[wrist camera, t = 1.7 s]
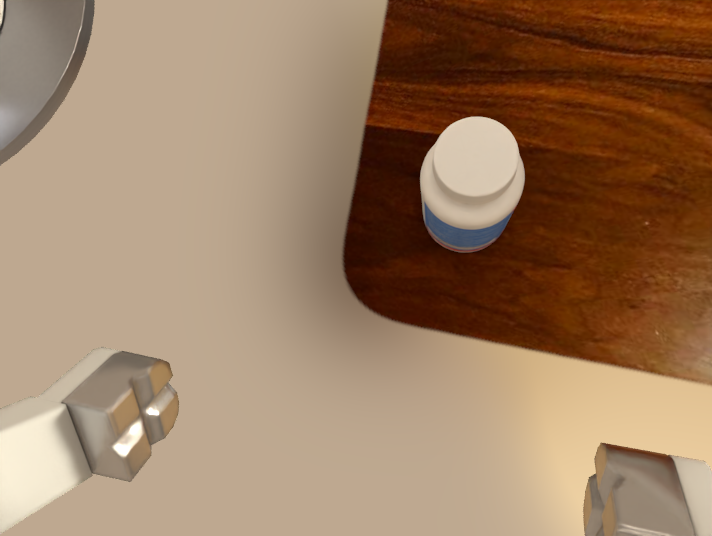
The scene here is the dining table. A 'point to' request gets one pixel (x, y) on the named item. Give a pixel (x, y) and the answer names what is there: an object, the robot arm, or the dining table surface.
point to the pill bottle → (471, 184)
